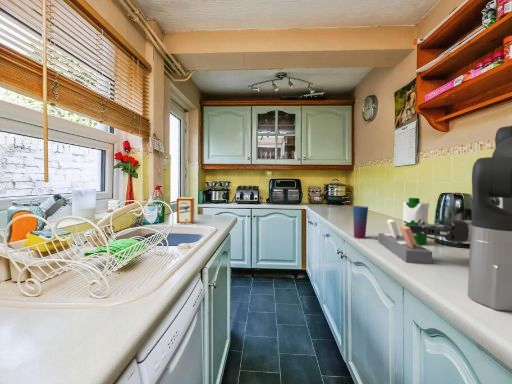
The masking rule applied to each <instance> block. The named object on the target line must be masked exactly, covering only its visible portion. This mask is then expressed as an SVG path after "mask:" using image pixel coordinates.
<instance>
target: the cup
mask: <svg viewBox="0 0 512 384" xmlns="http://www.w3.org/2000/svg"><path fill="white" fill-rule="evenodd" d="M368 213H369V206H365V205H353V206H352V216H353V217H352V219H353V220H352V221H353V223H352V224H353V237H354V238H355V239H362V240H363V239H365V238H366V233H367V224H368V223H367V221H368Z"/></svg>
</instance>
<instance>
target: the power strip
mask: <svg viewBox="0 0 512 384" xmlns="http://www.w3.org/2000/svg"><path fill="white" fill-rule="evenodd" d="M377 234H378V237H377V239H378V240H377V242H378V244H380V245H381V246H383V247H384V248H385V249H387V250H388V251H390V252H391V253H392V254H394V255H395V256H397V257H398V258H399V259H401V260H402V261H403V262H404V263H408V264H410V263H411V264H428V265H429V264H431V265H432V264H433V251H431V250H429V248H426V247H424V246H422V245H418V244H417V246H418V247H416V248H411V247H410V246H408V245H407V244H406V242H405V239H404V237H403V235H402V234H400V238H397V239H396V238H394V237H392V235H391V232H390V233H388V232H387V233H381V232H379V233H377Z"/></svg>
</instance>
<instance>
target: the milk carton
mask: <svg viewBox="0 0 512 384" xmlns="http://www.w3.org/2000/svg"><path fill="white" fill-rule="evenodd" d="M429 207H430V203H429V202H420V198H417V197H409V198H408V201H405V202H402V210H403V212H402V214H403V215H402V226H404V225H405V226H407V227H408V225H416V226H418V225H419V224H425V223H428V220H429ZM428 224H429V223H428ZM412 233H413V236H414V238H415V241H416V243H417V244H418V245H420V246H422V245H424V244H427V240H428V239H427V238H428V235H427V234H425V233H424V234H422V233H419V232H412Z"/></svg>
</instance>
